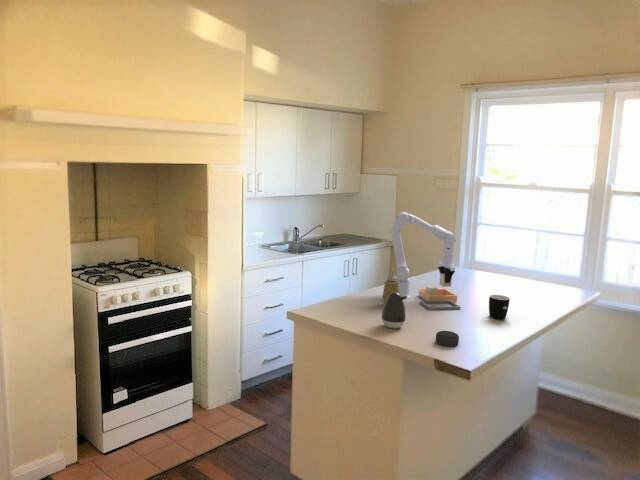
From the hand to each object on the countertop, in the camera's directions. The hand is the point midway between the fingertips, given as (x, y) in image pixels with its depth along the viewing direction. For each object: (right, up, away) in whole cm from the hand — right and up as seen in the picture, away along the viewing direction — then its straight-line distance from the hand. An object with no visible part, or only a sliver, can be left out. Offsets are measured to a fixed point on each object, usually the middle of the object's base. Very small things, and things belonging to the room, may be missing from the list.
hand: (445, 281), depth 276 cm
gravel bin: (-4, -9, +2) cm, 10 cm away
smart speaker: (-14, -20, -63) cm, 68 cm away
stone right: (0, -2, 0) cm, 2 cm away
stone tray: (-6, -12, -13) cm, 18 cm away
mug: (+19, -15, -24) cm, 35 cm away
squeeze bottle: (-30, -11, -13) cm, 35 cm away
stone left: (-7, -9, +1) cm, 11 cm away
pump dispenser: (-33, -16, -46) cm, 59 cm away
